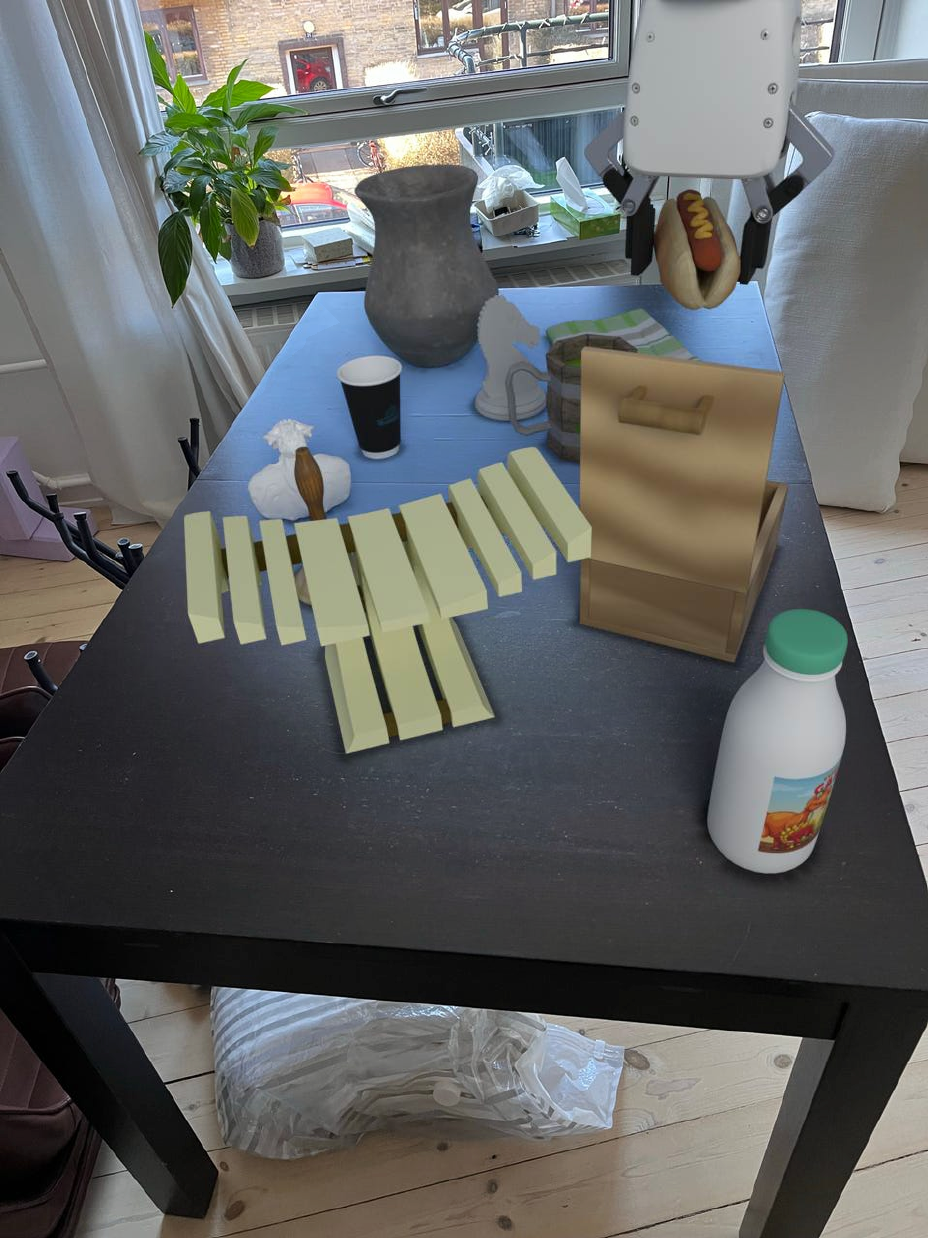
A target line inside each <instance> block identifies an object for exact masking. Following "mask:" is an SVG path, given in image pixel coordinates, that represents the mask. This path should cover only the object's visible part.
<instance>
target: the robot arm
mask: <svg viewBox="0 0 928 1238" xmlns="http://www.w3.org/2000/svg"><path fill="white" fill-rule="evenodd" d="M802 2H803V1H802V0H641V3H640V7H639V11H638V12H639V13H638V18H637V22H636V27H635V33H634V39H633V45H632V51H631V57H630V64H629V73H628V78H627V87H626V88H627V89H626V96H625V107H624V109H623V110H622V111H621V112H620V113H619V114H618V115H617V116H616V117H615V118H614V119H613V120H612V121H611V122H610V123H609V124H608V125H607V126H606V127H604V129H602V130H601V131H600V133H598V135H596V136H595V137H594V138H593V139H592V140H591V141H590V142H589V143H588V144H587V145H586V146H585V147H584V151H583V155H584V157H585V159H586V161H588V163H589V164H590V166H591V167H592V168H593V170H594V171H595V173H596V174H597V175H598V176H599V177H600V178H601V179H602V183H603V186H604V187H605V188H606V189H607V191H608V192H609V193H610V194H611V196H612V197H613V198H614V200H616V202H617V203H618V204H619V205H620V211H621V213H622V214H623V215H624V216H626V225H625V243H624V244H625V247H624V257H625V259H626V260H630V275H631V276H635V277H638V276H639V277H640V276H641V275H642V274H644V273H645V271H646V270H647V269H648V267H649V266H650V265H651V264H652V262H653V256H654V246H653V238H654V232H655V228H656V226H655V224H656V210H657V209H656V207H654V203H652V200H651V195H652V194H653V191H654V190H655V187H656V185H657V184H658V181H659V180H660V178H661V177H667V178H670V177H671V178H689V179H690V178H691V179H694V178H695V179H718V180H740V181H741V184H742V188H743V190H744V193H745V196H746V199H747V202H748V204H749V207H750V211H749V212H750V213H749V217H748V219H747V220H746V221H745V223H744V225H743V229H742V236H741V245H740V252H739V256H740V261H741V263H740V275H739V278H738V280H737V283H739V285H745V286H748V285H749V283H750V282H751V280H752V278H753V276H754V275H755V273H756V271H757V269H761V270H763V269H764V268H765V265H766V262H767V258H768V252H769V246H770V245H769V244H770V237H771V229H772V222H773V217H774V216H776V215H777V214H778V213H779V212H780V211H781V210H783V209H784V208H785V207H786V206H787V205H789V204H790V203H791V202H792V201H793V200H795V199H797V197H798V196H799V195H800V194H801V193H802V192H803V191H804V190H805V189H806V188H807V187H808V186H809V185H810V184H811V183H813V182H814V180H815V179H817V178H818V176H821V174H822V173H823V172H824V171H825V170H826V169H827V168H828V167H829V166H830V165H831V164H832V162H833V160H834V158H835V155H836V152H835V151H836V150H835V148H833V146H832V145H831V144H830V143H829V142H828V141H827V140H826V139H825V137H824V136H823V135H822V134H821V132H819V130H818V129H816V127H815V126H814V125H813V123H812V122H811V121H810V120H809V119H808V118H807V117H806V116H805V115H804V114H803V113H802V112H801V111H800V109H799V108H798V107H797V106H796V105H797V94H798V85H799V84H798V83H799V74H800V72H799V71H800V61H801V60H800V59H801V45H802V22H803V21H802V20H803V18H802V17H803V16H802V14H803V13H802V12H803V9H802V8H803V3H802ZM621 141H622V157H623V161H624V164H625V166H626V167H627V168H628V169H629V170H630V171H633V172H634V173H635V174H634V176H632V174H631V173H630V172H629V170H628V169H627V168H626V167H625V166H624V165H623V164H620V162H619V161H618V158H617V156H616V154H615V148H616V146H617V144H619V142H621ZM790 145H792V146H793V147H794V148H795V149H796V150H797V152H798V153H799V154H800V155H801V157H802V162H801V163H800V164H799V165H798V166H797V167H796V168H795V169H794V170H793V171H792V172H791V173H790V174H788V175H787V176H786V177H785V178H784V179H782V180H781V182H779V183H778V184H777V183H776V181H775V178H774V175H773V172H774V171H775V169H776V168H777V166H778V163H779V160H781V159H782V158H784V157H785V156H787V154H788V152H789V149H790Z"/></svg>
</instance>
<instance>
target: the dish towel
mask: <svg viewBox="0 0 928 1238" xmlns="http://www.w3.org/2000/svg"><path fill="white" fill-rule="evenodd" d="M584 334H595V335H605V336H616V337H621V338H622V339H624V340H625V341H627V342H628V343H630V344H631V345H632V346H634V347H635V348H637V349H638V350H637V353H641V354H648V355H656V356H664V357H672V358H680V359H687V360H695V361H702V359H700V358H699V357H698V356H697V355H694V354H693V353H690V351H688V348H687V347H686V346H685V344H683V343H682V342H681V341H680V340H679V339H678V338H676V337H674V336H673V335H672V334H671V333H670V332H668V331H667V329H666V328H665V327H664V325H662V324H661V323H659V322H658V321H657V320H656V319H654V318H653V317H652V316H651V315H650V314H649V313H648V312H647V311H646V310H645V309H644V308H636V309H632V310H630V311H627V312H623V313H621V314H617V315H612V316H608V317H603V318H601V319H597V320H595V319H594V320H592V319H590V320H589V319H585V320H569V321H564V322H560V323H557V324H554V325H552V326H550V327H548V328H546V329H545V335H546V338H547V340H548V342H549V343H550V344H551V347H552V346H553V345H554V343H555V342H556V341H558V340H562V339H567V338H571V337H575V336H579V335H584Z"/></svg>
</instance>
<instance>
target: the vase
mask: <svg viewBox="0 0 928 1238" xmlns="http://www.w3.org/2000/svg"><path fill="white" fill-rule="evenodd" d="M478 183H479V176H478V173H477V172H476V171H475V169H473V168H470V167H468V166H465V165H460V164H452V163H445V164H444V163H443V164H422V165H421V164H420V165H410V166H402V167H399V168H395V169H389V170H385V171H381V172H378V173H375V174H372V175H369V176H367V177H365V178H363V179H362V180H360V181H359V182H358V183H357V185H356V186H355V188H354V194H355V196H356V197H357V198H358V199H359V200H360V201H361V202H362V204H363V205H364V206H365V207H366V209H367V210H368V211H369V213H370V215H371V216H372V219H373V223H374V243H373V244H374V245H373V250H372V251H373V252H372V257H371V263H370V267H369V271H368V276H367V281H366V286H365V292H364V300H363V306H364V312H365V314H366V317H367V319H368V320H367V321H368V322H369V324H370V326H371V328H372V330H374V332H375V334H376V335H377V337H378V338H379V339H380V340H381V341H382V343H383V344H384V345H385V347H387V349H388V350H389V351H391V352H392V353H393V354H394V355H395V356H397V357H398V358H400V359H401V360H403V361H405V362H406V363H408V364H411V365H413V366H416V367H419V368H420V367H421V368H440V367H446V366H447V365H452V364H454V363H456V362H458V361H460V360H461V359H463V357H465V356H466V355H467V354H468V353H470V352H471V351H472V349H474V348H475V347H476V345H477V344H478V343H479V341H478V335H477V334H478V331H477V330H478V326H477V324H478V322H479V320H478V318H479V316H480V311H481V310H482V307H483V306H484V305H485V301H488V300H489V299H490V298H494V296H495V295H498V296H500V291H499V284H498V281H497V279H495V276H493V274H492V272H491V270H490V268H489V265H488V263H487V261H486V260H485V257H484V255H483V254H482V252H481V250H480V247H479V245H478V242H477V240H476V238H475V235H474V232H473V228H472V222H471V208H472V205H473V199H474V195H475V193H476V189H477V186H478Z"/></svg>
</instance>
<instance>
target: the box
mask: <svg viewBox="0 0 928 1238" xmlns="http://www.w3.org/2000/svg"><path fill="white" fill-rule="evenodd" d="M789 485H790V484H789V483H787V482H779V481H776V480H769V479H767V482H766V487H765V493H764V499H763V505H762V510H761V516H760V522H759V528H758V533H757V539H756V545H755V551H754V556H753V562H752V568H751V574H750V579H749V585H748V589H747V592H746V593H742V592H738V591H733V590H729V589H724V588H720V587H715V586H711V585H706V584H702V583H697V582H693V581H688V580H684V579H679V578H675V577H670V576H666V575H661V574H657V573H652V572H648V571H643V570H639V569H634V568H630V567H625V566H621V565H616V564H612V563H607V562H603V561H598V560H594V559H589V558H585V559H581V560H580V579H579V580H580V581H579V584H580V585H579V621H578V622H579V624H580V625H583V626H587V627H591V628H596V629H599V630H603V631H607V632H610V633H615V634H618V635H622V636H627V637H631V638H635V639H638V640H642V641H646V642H650V643H653V644H658V645H663V646H666V647H670V648H674V649H678V650H682V651H686V652H690V653H694V654H698V655H701V656H706V657H710V658H714V659H717V660H722V661H725V662H729V663H733V664H734V663H735V662H736V659H737V657H738V654H739V651H740V648H741V645H742V643H743V640H744V637H745V635H746V632H747V629H748V626H749V624H750V622H751V619H752V616H753V613H754V610H755V607H756V605H757V602H758V599H759V597H760V594H761V591H762V589H763V586H764V583H765V581H766V577H767V574H768V572H769V569H770V566H771V564H772V561H773V559H774V556H775V553H776V550H777V546H778V541H779V537H780V531H781V527H782V522H783V521H782V520H783V516H784V512H785V506H786V501H787V496H788V491H789Z"/></svg>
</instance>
